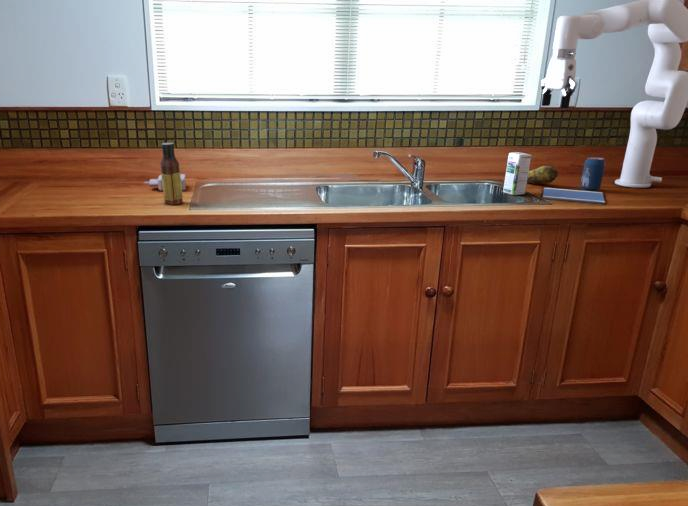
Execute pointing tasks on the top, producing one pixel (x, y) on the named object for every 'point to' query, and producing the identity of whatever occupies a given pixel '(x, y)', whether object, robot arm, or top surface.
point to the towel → (573, 195)
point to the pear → (542, 175)
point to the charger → (159, 182)
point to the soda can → (592, 174)
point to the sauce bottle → (171, 176)
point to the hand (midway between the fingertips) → (554, 106)
